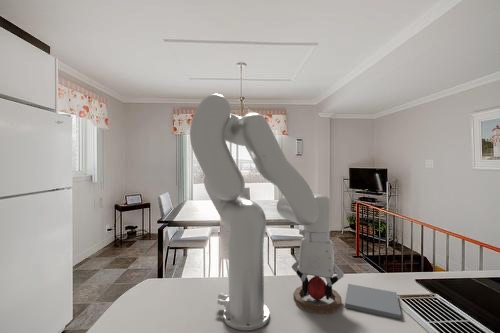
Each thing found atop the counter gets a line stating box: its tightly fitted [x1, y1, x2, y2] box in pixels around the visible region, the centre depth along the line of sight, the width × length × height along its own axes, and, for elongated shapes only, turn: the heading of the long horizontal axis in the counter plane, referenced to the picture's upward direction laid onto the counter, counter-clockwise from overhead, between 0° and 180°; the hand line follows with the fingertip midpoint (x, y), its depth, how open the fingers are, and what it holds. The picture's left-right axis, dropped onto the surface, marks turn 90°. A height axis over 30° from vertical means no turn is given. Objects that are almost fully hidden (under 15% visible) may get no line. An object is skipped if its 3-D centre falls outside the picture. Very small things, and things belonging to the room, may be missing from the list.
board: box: [344, 283, 402, 320], centre depth 76 cm, size 14×13×1 cm
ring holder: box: [292, 285, 342, 315], centre depth 77 cm, size 14×14×2 cm
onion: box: [307, 276, 327, 302], centre depth 77 cm, size 6×6×8 cm
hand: (316, 294), depth 77 cm, fingers closed on onion, 5 cm apart
